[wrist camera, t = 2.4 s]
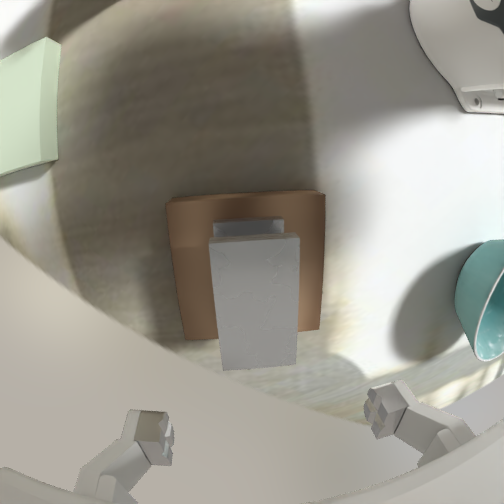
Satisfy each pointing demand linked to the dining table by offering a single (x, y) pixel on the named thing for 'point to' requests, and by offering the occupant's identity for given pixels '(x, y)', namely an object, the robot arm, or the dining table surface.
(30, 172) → the dining table surface
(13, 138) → the stand
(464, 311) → the bowl
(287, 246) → the block
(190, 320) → the stand
